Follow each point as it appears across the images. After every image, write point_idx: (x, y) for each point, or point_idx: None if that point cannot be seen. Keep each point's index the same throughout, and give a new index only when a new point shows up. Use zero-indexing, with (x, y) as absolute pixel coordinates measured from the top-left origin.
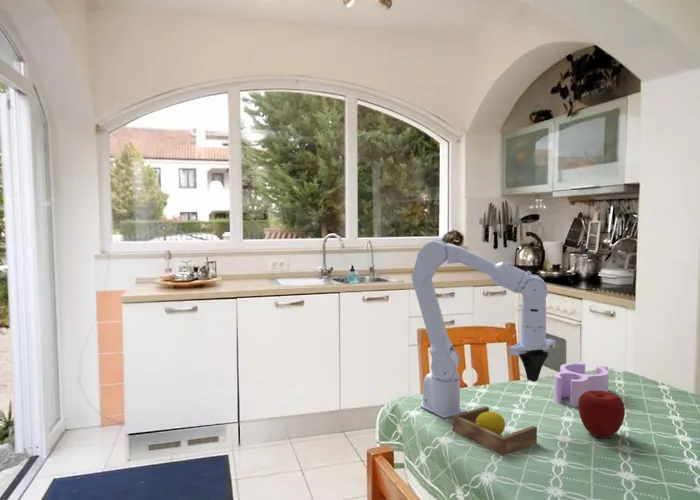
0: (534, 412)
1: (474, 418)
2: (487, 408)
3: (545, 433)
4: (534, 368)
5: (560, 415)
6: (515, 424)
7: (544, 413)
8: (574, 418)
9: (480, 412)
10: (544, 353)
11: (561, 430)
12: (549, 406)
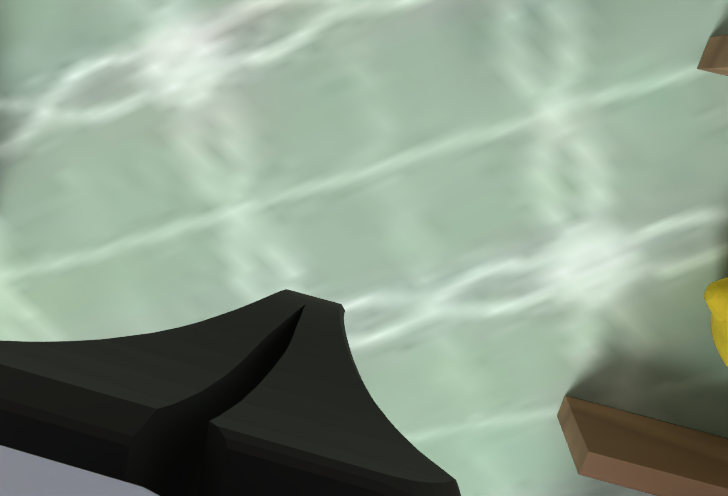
0: (242, 257)
1: (706, 456)
2: (599, 452)
3: (515, 62)
4: (359, 380)
5: (166, 117)
6: (501, 265)
7: (211, 205)
8: (143, 25)
9: (664, 461)
10: (19, 438)
11: (395, 3)
12: (87, 228)
